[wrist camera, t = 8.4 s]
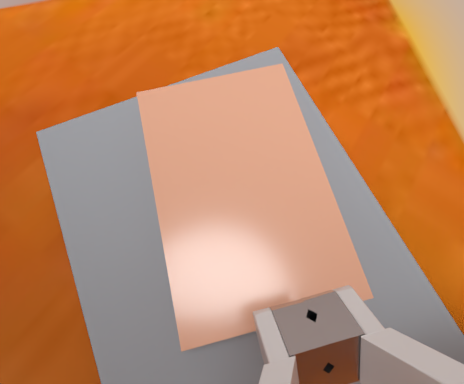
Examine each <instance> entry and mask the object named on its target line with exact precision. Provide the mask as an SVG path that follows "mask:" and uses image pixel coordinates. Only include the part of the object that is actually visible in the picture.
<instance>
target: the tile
mask: <svg viewBox="0 0 464 384" xmlns="http://www.w3.org/2000/svg"><path fill="white" fill-rule="evenodd" d="M137 99H138V104H139V110H140V116H141V122H142V127H143V133H144V139H145V145H146V150H147V156H148V162H149V168H150V174H151V179H152V185H153V191H154V197H155V202H156V208H157V214H158V220H159V225H160V231H161V237H162V243H163V248H164V254H165V260H166V266H167V272H168V277H169V283H170V289H171V295H172V300H173V306H174V312H175V318H176V323H177V329H178V335H179V341H180V346H181V352H182V351H186V350H189V349H193V348H196V347H200V346H204V345H207V344H211V343H214V342H218V341H221V340H225V339H229V338H232V337H236V336H239V335H243V334H246V333H250V332H254V331H256V328H255V323H254V318H253V311H257V310H260V309H264V308H268V307H269V308H270V307H271V306H275V305H279V304H283V303H287V302H291V301H295V300H299V299H301V298H304V297H308V296H311V295H315V294H318V293H322V292H325V291H328V290H333V289H336V288H340V287H343V286H347V285H349V286H351V287H352V288H353V289H354V290H355V292H356V293H357V294H358V295H359V297H360V298H361V299H362V300H363V301H364V300H368V299H372V298H374V297H373V294H372V292H371V289H370V287H369V284H368V282H367V279H366V276H365V274H364V271H363V269H362V266H361V264H360V261H359V258H358V256H357V253H356V251H355V248H354V246H353V243H352V240H351V238H350V235H349V233H348V230H347V228H346V225H345V222H344V220H343V217H342V215H341V212H340V210H339V207H338V204H337V202H336V199H335V197H334V194H333V192H332V189H331V186H330V184H329V181H328V179H327V176H326V174H325V171H324V168H323V166H322V163H321V161H320V158H319V156H318V153H317V150H316V148H315V145H314V143H313V140H312V138H311V135H310V132H309V130H308V127H307V125H306V122H305V120H304V117H303V114H302V112H301V109H300V107H299V104H298V102H297V99H296V96H295V94H294V91H293V89H292V86H291V84H290V81H289V79H288V76H287V73H286V71H285V68H284V66H283V63H282V64H277V65H272V66H267V67H262V68H257V69H252V70H247V71H242V72H237V73H232V74H227V75H222V76H217V77H212V78H207V79H202V80H197V81H192V82H187V83H182V84H177V85H172V86H167V87H162V88H157V89H152V90H147V91H142V92H137Z"/></svg>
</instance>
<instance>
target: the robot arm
mask: <svg viewBox="0 0 464 384" xmlns="http://www.w3.org/2000/svg"><path fill="white" fill-rule="evenodd" d="M253 318H254V323H255V328H256V333H257V338H258V342H259V346H260V350H261V354H262V358H263V361H264V366H263V369H262V373H261V376H260V380H259V384H350V383H354V382H357V381H360V383H361V384H464V364H462V363H460V362H458V361H456V360H454V359H452V358H450V357H448V356H446V355H444V354H442V353H440V352H438V351H436V350H434V349H432V348H430V347H428V346H426V345H424V344H422V343H420V342H418V341H416V340H414V339H412V338H410V337H408V336H406V335H404V334H402V333H400V332H398V331H396V330H394V329H392V328H386V329H385V328H384V327H383V326H382V324H381V323H380V322H379V321H378V319H377V318H376V317H375V316H374V314H373V313H372V312H371V311H370V309H369V308H368V307H367V305H366V304H365V303H364V302H363V300H362V299H361V298H360V297H359V295H358V294H357V293H356V292H355V290H354V289H353V288H352V287H351V286H349V285H347V286H343V287H340V288H336V289H333V290H328V291H325V292H322V293H318V294H315V295H311V296H308V297H304V298H301V299H299V300H295V301H291V302H287V303H283V304H279V305H275V306H271V307H270V308H269V307H268V308H264V309H260V310H257V311H253Z"/></svg>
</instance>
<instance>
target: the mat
mask: <svg viewBox="0 0 464 384" xmlns="http://www.w3.org/2000/svg"><path fill="white" fill-rule="evenodd" d="M282 63H283V66H284V68H285V71H286V73H287V76H288V79H289V81H290V84H291V86H292V89H293V91H294V94H295V96H296V99H297V102H298V104H299V107H300V109H301V112H302V114H303V117H304V120H305V122H306V125H307V127H308V130H309V132H310V135H311V138H312V140H313V143H314V145H315V148H316V150H317V153H318V156H319V158H320V161H321V163H322V166H323V168H324V171H325V174H326V176H327V179H328V181H329V184H330V186H331V189H332V192H333V194H334V197H335V199H336V202H337V204H338V207H339V210H340V212H341V215H342V217H343V220H344V222H345V225H346V228H347V230H348V233H349V235H350V238H351V240H352V243H353V246H354V248H355V251H356V253H357V256H358V258H359V261H360V264H361V266H362V269H363V271H364V274H365V276H366V279H367V282H368V284H369V287H370V289H371V292H372V294H373V297H374V298H372V299H368V300H364V301H363V302H364V303H365V304H366V305H367V307H368V308H369V309H370V311H371V312H372V313H373V314H374V316H375V317H376V318H377V319H378V321H379V322H380V323H381V324H382V326H383V327H384V328H385V329H386V328H392V329H394V330H396V331H398V332H400V333H402V334H404V335H406V336H408V337H410V338H412V339H414V340H416V341H418V342H420V343H422V344H424V345H426V346H428V347H430V348H432V349H434V350H436V351H438V352H440V353H442V354H444V355H446V356H448V357H450V358H452V359H454V360H456V361H458V362H460V363H462V364H464V335H463V334H462V332H461V330H460V329H459V327H458V326H457V324H456V323H455V321H454V320H453V318H452V316H451V315H450V313H449V312H448V310H447V309H446V307H445V306H444V304H443V302H442V301H441V299H440V298H439V296H438V295H437V293H436V292H435V290H434V288H433V287H432V285H431V284H430V282H429V281H428V279H427V278H426V276H425V274H424V273H423V271H422V270H421V268H420V267H419V265H418V264H417V262H416V260H415V259H414V257H413V256H412V254H411V253H410V251H409V250H408V248H407V247H406V245H405V243H404V242H403V240H402V239H401V237H400V236H399V234H398V233H397V231H396V229H395V228H394V226H393V225H392V223H391V222H390V220H389V219H388V217H387V215H386V214H385V212H384V211H383V209H382V208H381V206H380V205H379V203H378V201H377V200H376V198H375V197H374V195H373V194H372V192H371V191H370V189H369V187H368V186H367V184H366V183H365V181H364V180H363V178H362V177H361V175H360V174H359V172H358V170H357V169H356V167H355V166H354V164H353V163H352V161H351V160H350V158H349V156H348V155H347V153H346V152H345V150H344V149H343V147H342V146H341V144H340V142H339V141H338V139H337V138H336V136H335V135H334V133H333V132H332V130H331V128H330V127H329V125H328V124H327V122H326V121H325V119H324V118H323V116H322V114H321V113H320V111H319V110H318V108H317V107H316V105H315V104H314V102H313V100H312V99H311V97H310V96H309V94H308V93H307V91H306V90H305V88H304V87H303V85H302V83H301V82H300V80H299V79H298V77H297V76H296V74H295V73H294V71H293V69H292V68H291V66H290V65H289V63H288V62H287V60H286V59H285V57H284V55H283V54H282V52H281V51H280V49H279V48H278V47H276V48H273V49H270V50H268V51H265V52H262V53H259V54H256V55H253V56H251V57H248V58H245V59H242V60H239V61H236V62H234V63H231V64H228V65H225V66H222V67H219V68H217V69H214V70H211V71H208V72H205V73H202V74H200V75H197V76H194V77H191V78H188V79H185V80H183V81H180V82H177V83H174V84H171V85H168V86H172V85H177V84H182V83H187V82H192V81H197V80H202V79H207V78H212V77H217V76H222V75H227V74H232V73H237V72H242V71H247V70H252V69H257V68H262V67H267V66H272V65H277V64H282ZM166 87H167V86H166ZM36 134H37V138H38V141H39V145H40V149H41V153H42V157H43V161H44V165H45V168H46V172H47V176H48V180H49V184H50V188H51V191H52V195H53V199H54V203H55V207H56V211H57V215H58V218H59V222H60V226H61V230H62V234H63V238H64V242H65V245H66V249H67V253H68V257H69V261H70V265H71V269H72V272H73V276H74V280H75V284H76V288H77V292H78V296H79V299H80V303H81V307H82V311H83V315H84V319H85V323H86V326H87V330H88V334H89V338H90V342H91V346H92V350H93V353H94V357H95V361H96V365H97V369H98V373H99V377H100V380H101V384H259V380H260V376H261V373H262V369H263V366H264V361H263V358H262V354H261V350H260V346H259V342H258V338H257V333H256V331H254V332H250V333H246V334H243V335H239V336H236V337H232V338H229V339H225V340H221V341H218V342H214V343H211V344H207V345H204V346H200V347H196V348H193V349H189V350H186V351H182V352H181V346H180V341H179V335H178V329H177V323H176V318H175V312H174V306H173V300H172V295H171V289H170V283H169V277H168V272H167V266H166V260H165V254H164V248H163V243H162V237H161V231H160V225H159V220H158V214H157V208H156V202H155V197H154V191H153V185H152V179H151V174H150V168H149V162H148V156H147V150H146V145H145V139H144V133H143V127H142V122H141V116H140V110H139V104H138V99H137V97H134V98H131V99H129V100H126V101H123V102H120V103H117V104H114V105H112V106H109V107H106V108H103V109H100V110H97V111H95V112H92V113H89V114H86V115H83V116H80V117H78V118H75V119H72V120H69V121H66V122H63V123H61V124H58V125H55V126H52V127H49V128H46V129H44V130H41V131H38V132H36ZM350 384H361V383H360V381H357V382H354V383H350Z"/></svg>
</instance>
